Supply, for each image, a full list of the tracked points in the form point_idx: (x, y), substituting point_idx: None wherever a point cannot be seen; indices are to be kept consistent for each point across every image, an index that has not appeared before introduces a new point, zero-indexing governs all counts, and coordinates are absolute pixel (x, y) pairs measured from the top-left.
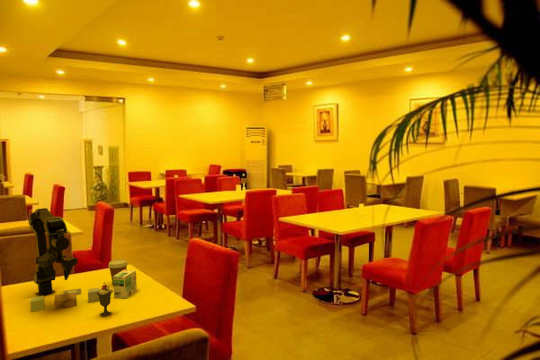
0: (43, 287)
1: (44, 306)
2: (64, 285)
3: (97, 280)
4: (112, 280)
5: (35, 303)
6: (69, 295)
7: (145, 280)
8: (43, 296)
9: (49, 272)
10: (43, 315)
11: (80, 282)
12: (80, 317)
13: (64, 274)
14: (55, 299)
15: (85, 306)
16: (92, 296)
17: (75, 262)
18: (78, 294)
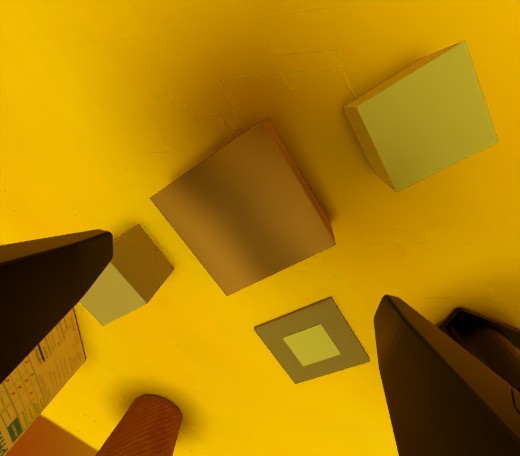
0: (492, 359)
1: (367, 157)
2: None
3: (275, 451)
4: (160, 424)
5: (410, 70)
6: (228, 241)
7: (84, 430)
8: (390, 174)
9: (411, 379)
10: (289, 6)
11: (342, 442)
12: (22, 8)
13: (3, 253)
14: (283, 168)
15: (120, 179)
16: None
17: None
18: (264, 323)
